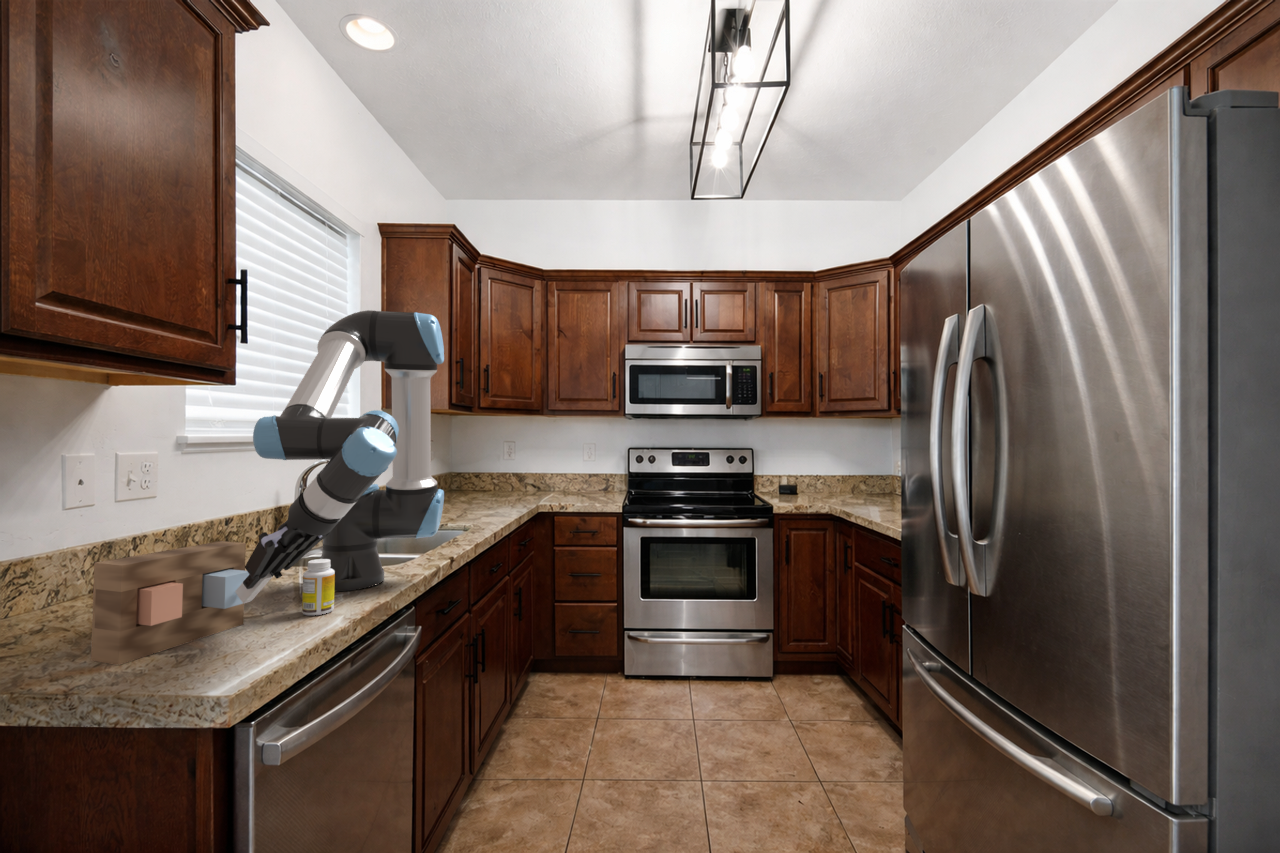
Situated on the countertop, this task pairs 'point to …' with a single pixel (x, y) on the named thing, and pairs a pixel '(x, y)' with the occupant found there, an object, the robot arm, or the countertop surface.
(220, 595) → the slate button
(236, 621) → the brown wooden block
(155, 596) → the terracotta button
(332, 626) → the countertop surface
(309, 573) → the supplement bottle
